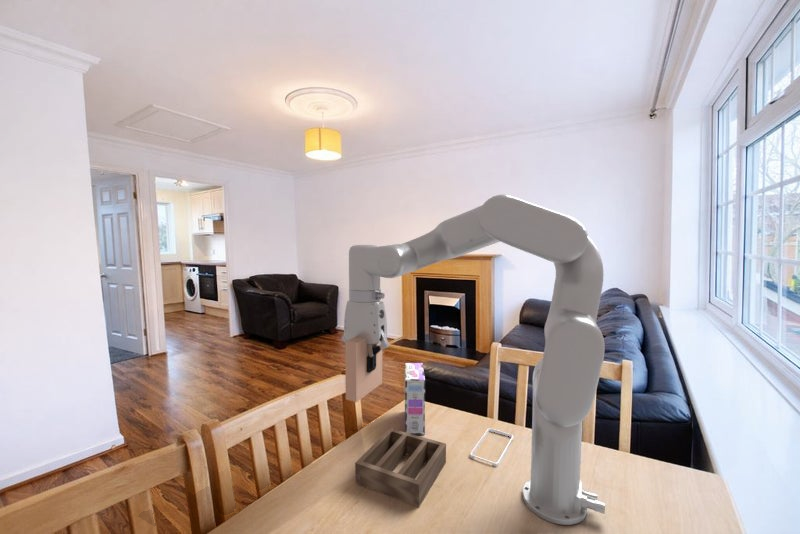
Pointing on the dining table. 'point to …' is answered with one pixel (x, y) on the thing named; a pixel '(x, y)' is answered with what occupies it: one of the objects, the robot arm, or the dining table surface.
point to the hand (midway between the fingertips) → (364, 368)
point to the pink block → (360, 369)
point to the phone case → (481, 441)
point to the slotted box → (403, 486)
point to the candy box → (414, 399)
